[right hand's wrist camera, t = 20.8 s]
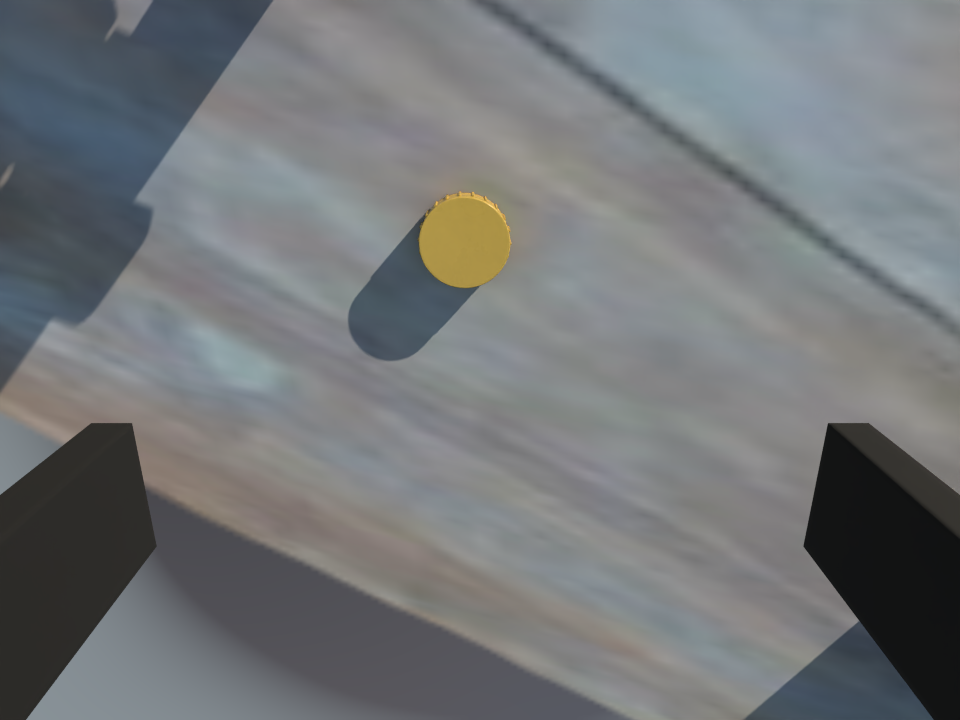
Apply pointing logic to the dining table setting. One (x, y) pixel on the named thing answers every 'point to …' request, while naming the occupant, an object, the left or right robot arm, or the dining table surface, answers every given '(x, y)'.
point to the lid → (464, 240)
